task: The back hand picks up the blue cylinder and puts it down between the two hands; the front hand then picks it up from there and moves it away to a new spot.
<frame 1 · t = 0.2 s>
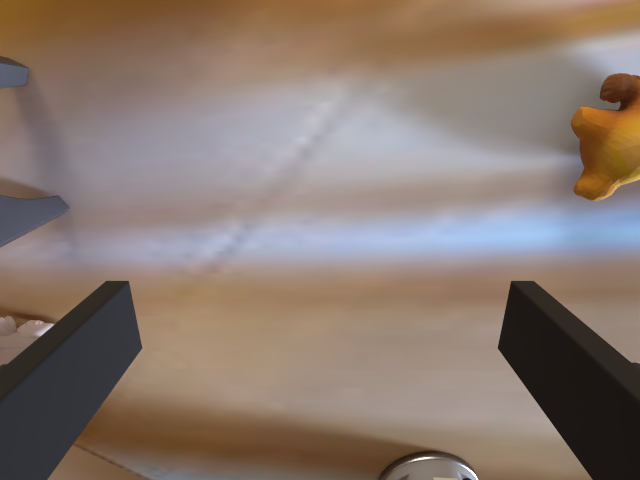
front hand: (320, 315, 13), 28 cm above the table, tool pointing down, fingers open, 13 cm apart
planter: (3, 144, 38), on the table
toy: (625, 140, 38), on the table
figurine: (59, 341, 47), on the table
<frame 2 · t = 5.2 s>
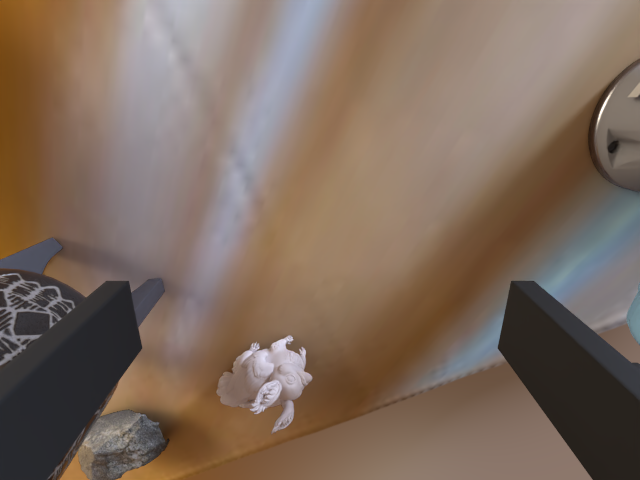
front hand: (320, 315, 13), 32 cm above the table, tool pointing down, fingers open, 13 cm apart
planter: (100, 290, 49), on the table
rock: (133, 427, 57), on the table
figurine: (267, 358, 53), on the table
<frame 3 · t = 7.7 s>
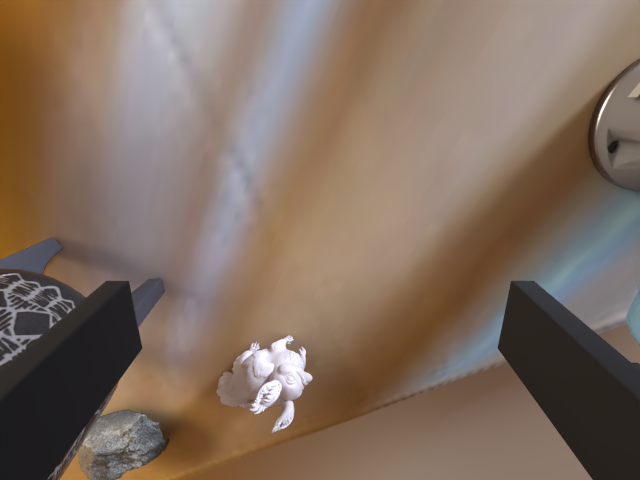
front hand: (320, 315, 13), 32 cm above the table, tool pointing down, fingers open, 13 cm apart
planter: (100, 290, 49), on the table
rock: (133, 427, 57), on the table
figurine: (267, 358, 53), on the table
when the back hand's fingers open (4 cm above the table, at t = 10.6 s): blue cylinder drops 2 cm, on the table.
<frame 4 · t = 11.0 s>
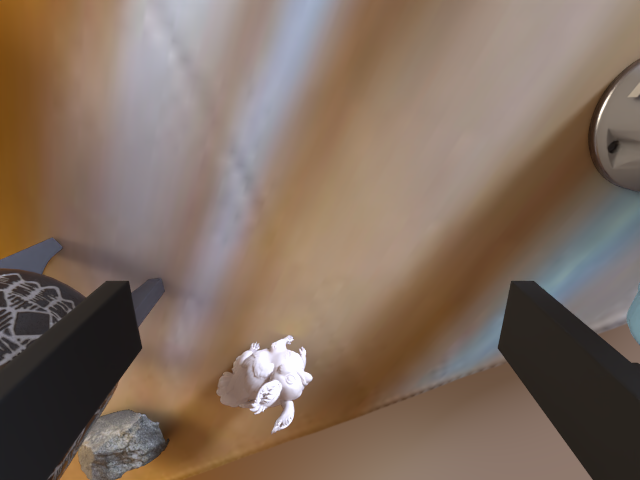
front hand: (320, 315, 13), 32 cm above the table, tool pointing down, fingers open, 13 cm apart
planter: (100, 290, 49), on the table
rock: (133, 427, 57), on the table
figurine: (267, 358, 53), on the table
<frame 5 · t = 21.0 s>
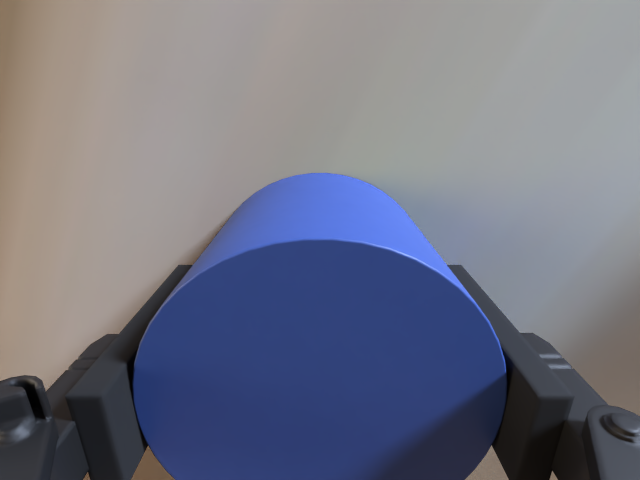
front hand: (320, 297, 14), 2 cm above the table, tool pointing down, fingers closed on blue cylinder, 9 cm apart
blue cylinder: (319, 278, 16), on the table, touching front hand
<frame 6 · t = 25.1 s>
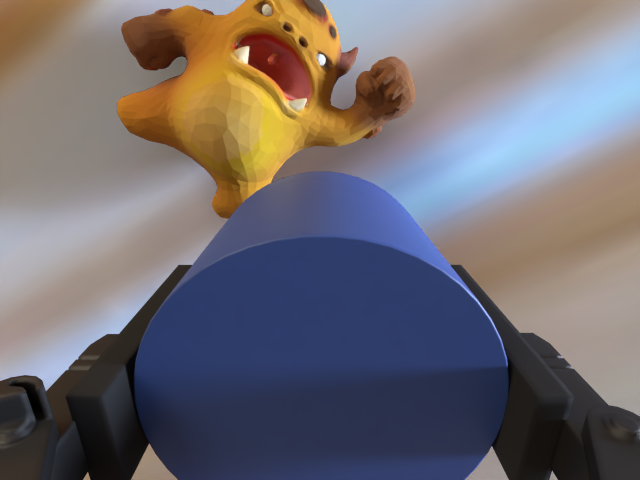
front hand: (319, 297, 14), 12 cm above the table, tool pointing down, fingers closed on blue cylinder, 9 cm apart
blue cylinder: (320, 276, 16), point 10 cm above the table, touching front hand
toy: (272, 99, 23), on the table
when the front hand's fingers open (4 cm above the table, at t = 29.0 s): blue cylinder drops 2 cm, on the table.
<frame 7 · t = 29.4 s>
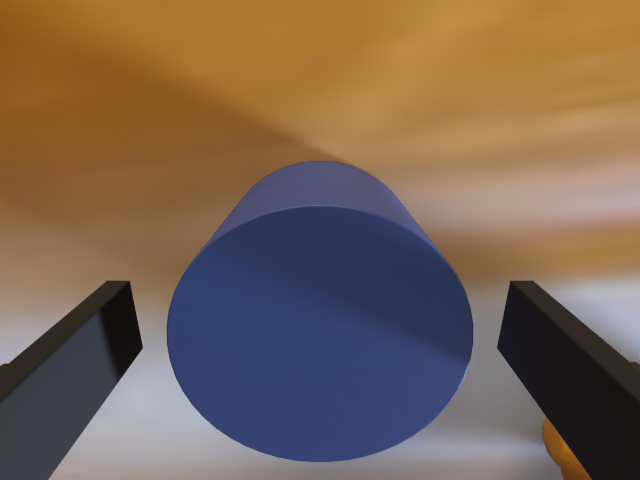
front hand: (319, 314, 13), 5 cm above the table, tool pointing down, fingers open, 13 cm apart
blue cylinder: (320, 255, 18), on the table
toy: (637, 429, 21), on the table
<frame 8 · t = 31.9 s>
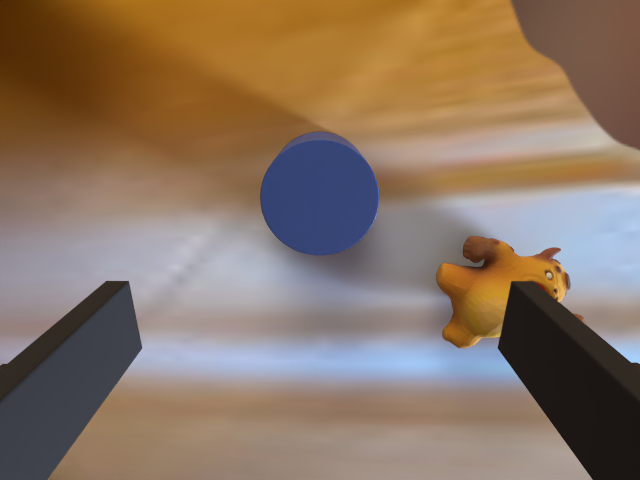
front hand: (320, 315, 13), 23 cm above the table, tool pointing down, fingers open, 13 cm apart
blue cylinder: (319, 181, 35), on the table
toy: (497, 286, 38), on the table
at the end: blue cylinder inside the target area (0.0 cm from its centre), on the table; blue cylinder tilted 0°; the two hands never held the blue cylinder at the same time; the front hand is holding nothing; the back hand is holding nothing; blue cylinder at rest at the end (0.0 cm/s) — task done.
